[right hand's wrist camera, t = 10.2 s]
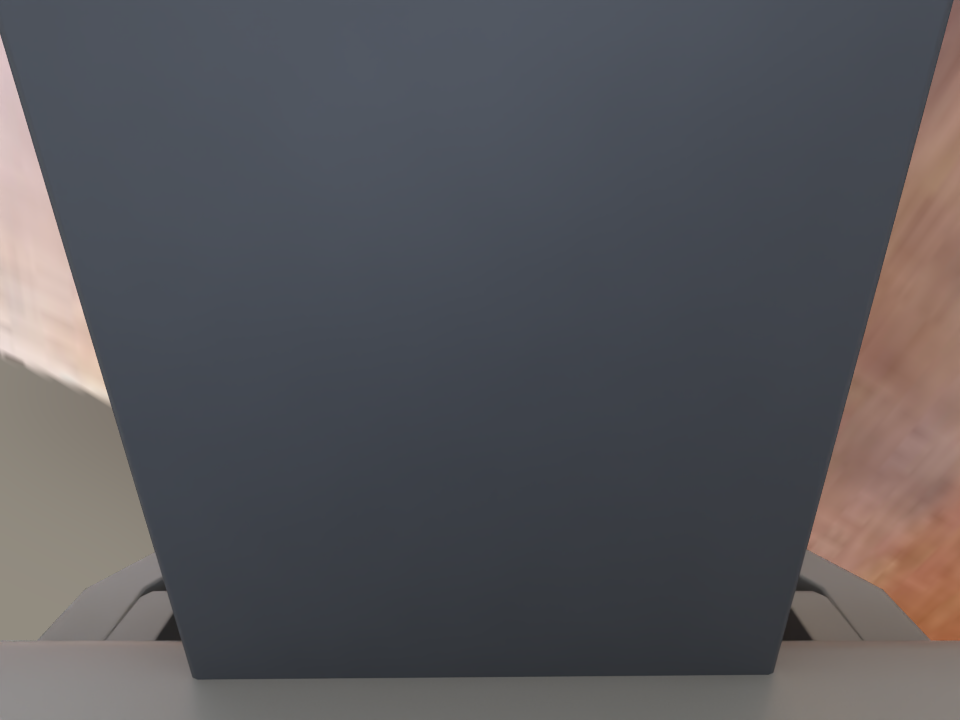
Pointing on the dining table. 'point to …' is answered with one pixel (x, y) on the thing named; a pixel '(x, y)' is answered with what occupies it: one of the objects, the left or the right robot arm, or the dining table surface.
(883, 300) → the dining table surface
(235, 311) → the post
